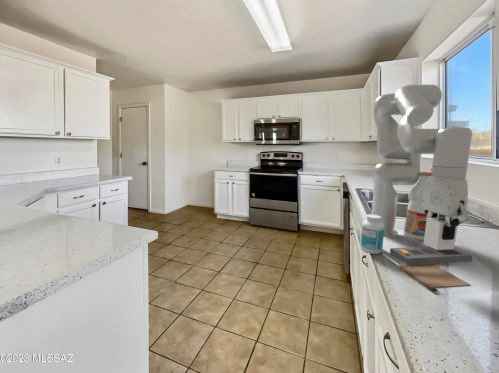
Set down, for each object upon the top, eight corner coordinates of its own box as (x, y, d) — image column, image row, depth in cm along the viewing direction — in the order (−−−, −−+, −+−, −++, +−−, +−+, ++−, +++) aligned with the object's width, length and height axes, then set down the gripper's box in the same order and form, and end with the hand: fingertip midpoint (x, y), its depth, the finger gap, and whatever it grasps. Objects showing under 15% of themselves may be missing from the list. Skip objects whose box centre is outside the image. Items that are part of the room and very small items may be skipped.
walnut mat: (399, 269, 79) (400, 265, 79) (433, 267, 80) (434, 263, 80) (430, 291, 67) (431, 287, 67) (469, 288, 68) (470, 284, 68)
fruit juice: (410, 231, 111) (421, 170, 106) (433, 239, 103) (446, 174, 97) (398, 235, 107) (408, 171, 101) (421, 243, 99) (434, 175, 93)
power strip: (389, 256, 88) (390, 246, 87) (449, 253, 91) (451, 243, 90) (405, 267, 80) (407, 256, 80) (471, 263, 83) (473, 253, 82)
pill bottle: (375, 246, 96) (378, 213, 94) (386, 254, 89) (390, 219, 86) (356, 246, 96) (359, 213, 94) (365, 255, 89) (369, 219, 86)
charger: (423, 243, 73) (427, 215, 72) (440, 243, 74) (444, 215, 72) (436, 249, 69) (440, 220, 67) (454, 249, 69) (458, 219, 68)
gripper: (412, 170, 76) (406, 227, 79) (466, 176, 59) (455, 248, 62) (434, 170, 77) (427, 226, 80) (493, 176, 60) (481, 247, 63)
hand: (439, 235), depth 71 cm, fingers closed on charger, 4 cm apart
